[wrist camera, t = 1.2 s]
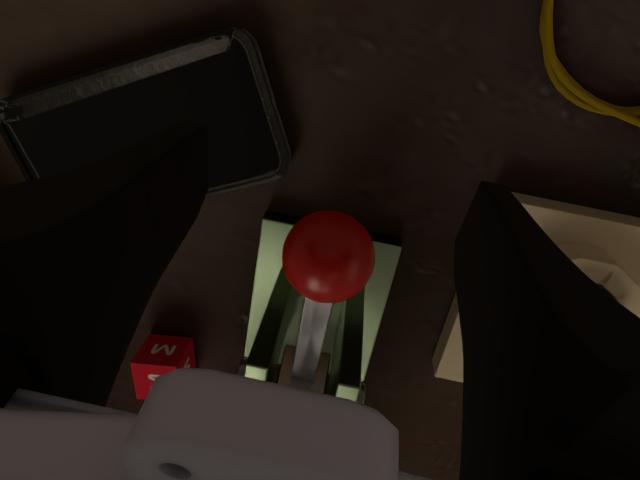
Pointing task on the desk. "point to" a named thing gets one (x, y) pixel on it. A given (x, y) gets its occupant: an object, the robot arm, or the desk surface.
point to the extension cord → (567, 83)
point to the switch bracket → (286, 308)
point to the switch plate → (582, 249)
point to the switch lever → (321, 287)
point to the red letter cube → (160, 360)
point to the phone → (157, 111)
